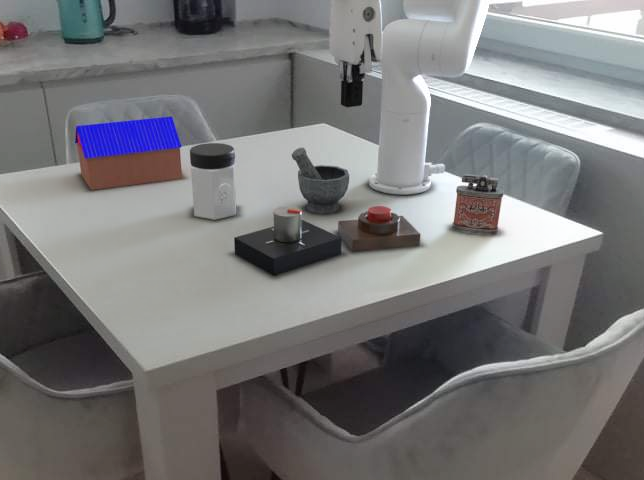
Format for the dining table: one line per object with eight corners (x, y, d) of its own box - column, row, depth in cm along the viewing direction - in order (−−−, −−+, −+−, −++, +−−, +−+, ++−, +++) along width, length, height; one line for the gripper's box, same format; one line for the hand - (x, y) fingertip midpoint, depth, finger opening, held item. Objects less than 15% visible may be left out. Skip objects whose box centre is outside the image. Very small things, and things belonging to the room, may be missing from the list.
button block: (401, 227, 136) (403, 205, 134) (419, 245, 129) (421, 223, 127) (337, 232, 134) (338, 211, 132) (352, 252, 126) (353, 229, 124)
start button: (386, 214, 131) (386, 205, 131) (393, 222, 128) (394, 213, 127) (364, 216, 131) (364, 206, 130) (371, 224, 127) (372, 214, 126)
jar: (204, 223, 138) (200, 158, 132) (184, 210, 144) (179, 147, 138) (246, 213, 142) (244, 150, 136) (225, 201, 148) (222, 140, 142)
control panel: (300, 234, 133) (300, 217, 131) (341, 254, 126) (341, 236, 124) (234, 254, 126) (233, 236, 124) (273, 276, 118) (273, 257, 117)
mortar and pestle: (336, 197, 150) (337, 136, 144) (356, 212, 143) (359, 149, 136) (283, 204, 147) (282, 142, 140) (301, 220, 139) (301, 156, 133)
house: (184, 178, 161) (179, 122, 155) (89, 190, 154) (81, 133, 148) (169, 163, 170) (164, 110, 164) (79, 174, 163) (71, 119, 157)
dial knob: (269, 240, 123) (269, 212, 121) (280, 230, 127) (280, 203, 124) (295, 244, 122) (295, 215, 119) (305, 234, 125) (306, 206, 123)
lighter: (498, 229, 135) (506, 174, 130) (496, 236, 132) (505, 180, 127) (453, 224, 137) (459, 170, 132) (450, 230, 135) (457, 175, 129)
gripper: (401, -14, 111) (393, 113, 121) (354, -23, 122) (350, 93, 132) (356, -11, 108) (352, 118, 118) (312, -21, 120) (311, 98, 130)
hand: (351, 105), depth 125 cm, fingers closed
